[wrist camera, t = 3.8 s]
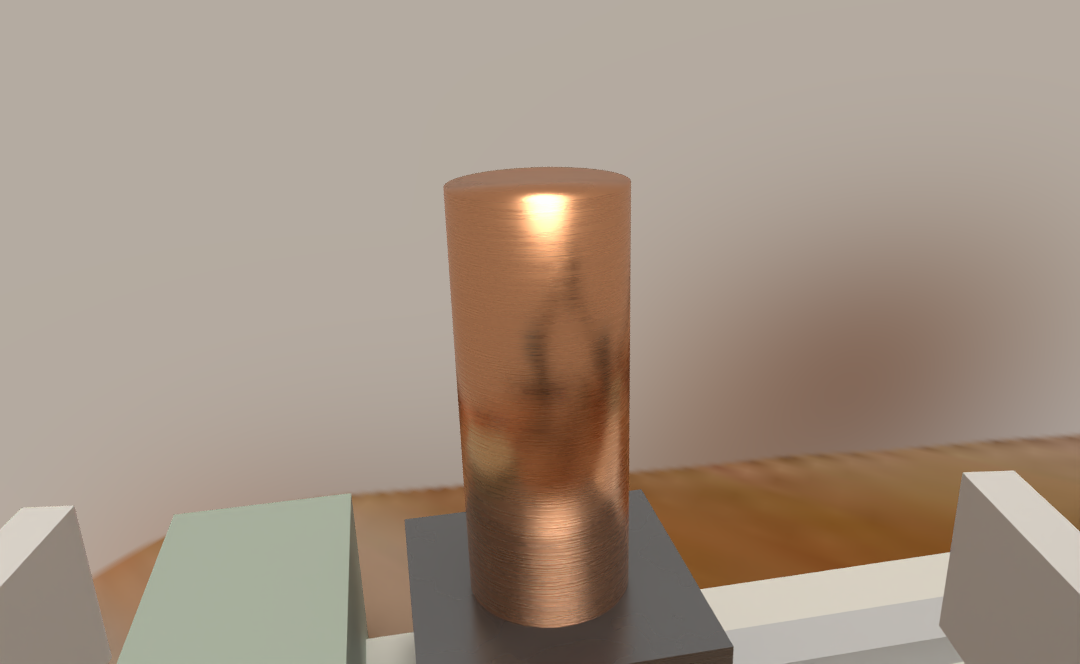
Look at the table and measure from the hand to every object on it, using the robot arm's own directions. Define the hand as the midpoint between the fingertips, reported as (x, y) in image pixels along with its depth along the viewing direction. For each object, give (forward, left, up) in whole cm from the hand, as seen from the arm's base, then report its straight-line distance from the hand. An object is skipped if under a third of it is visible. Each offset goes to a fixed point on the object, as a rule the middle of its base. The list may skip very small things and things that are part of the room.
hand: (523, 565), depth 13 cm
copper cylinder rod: (-2, -7, -9) cm, 11 cm away
